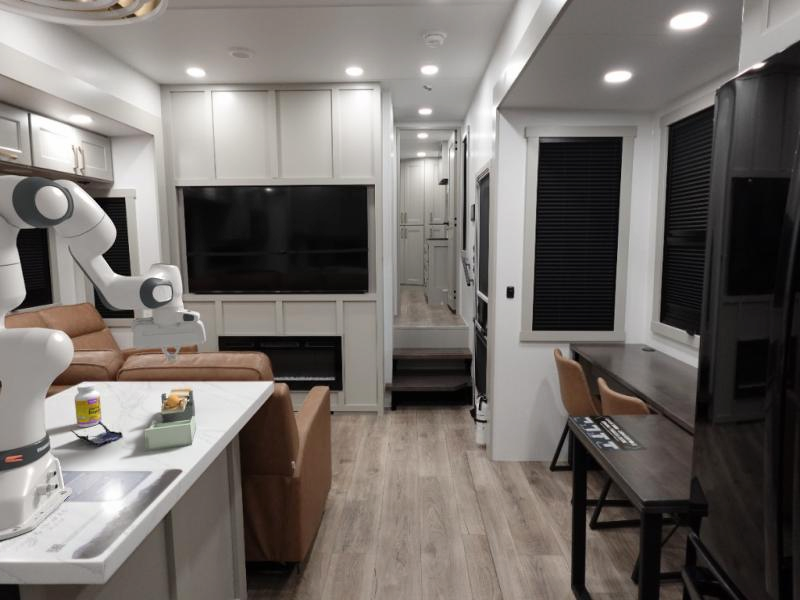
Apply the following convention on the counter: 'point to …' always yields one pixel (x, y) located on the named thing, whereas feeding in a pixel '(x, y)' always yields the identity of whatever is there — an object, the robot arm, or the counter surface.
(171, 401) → the ball
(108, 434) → the snack package
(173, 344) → the robot arm
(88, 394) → the supplement bottle
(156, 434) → the dish
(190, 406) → the fulcrum
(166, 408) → the lever
